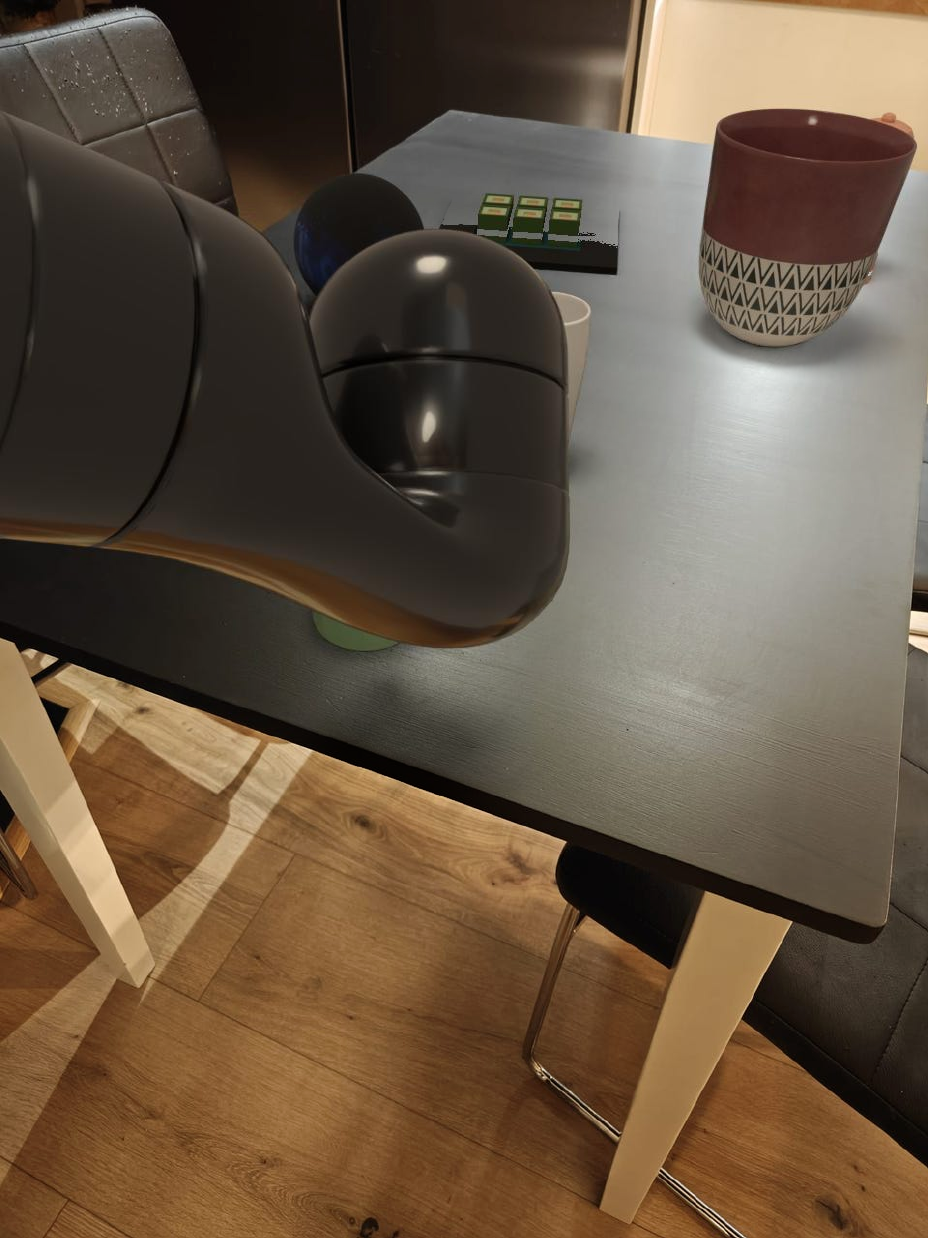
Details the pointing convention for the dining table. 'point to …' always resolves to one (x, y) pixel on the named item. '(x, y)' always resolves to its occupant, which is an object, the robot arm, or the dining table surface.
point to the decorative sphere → (348, 223)
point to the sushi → (532, 220)
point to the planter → (795, 218)
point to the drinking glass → (574, 343)
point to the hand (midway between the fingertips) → (372, 574)
